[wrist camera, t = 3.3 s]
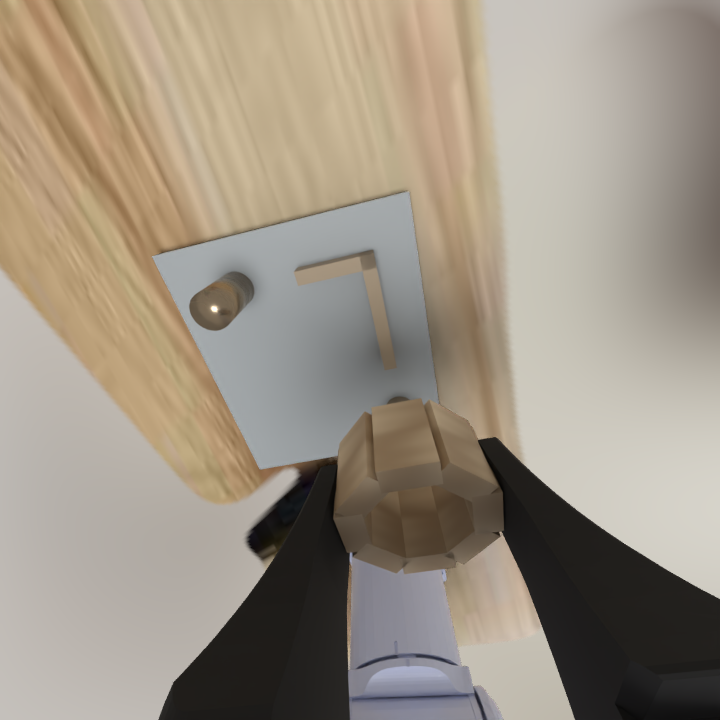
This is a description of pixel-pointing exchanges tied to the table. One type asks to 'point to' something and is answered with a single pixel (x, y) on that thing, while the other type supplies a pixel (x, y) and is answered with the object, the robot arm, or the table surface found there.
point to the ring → (415, 489)
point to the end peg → (221, 301)
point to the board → (313, 325)
